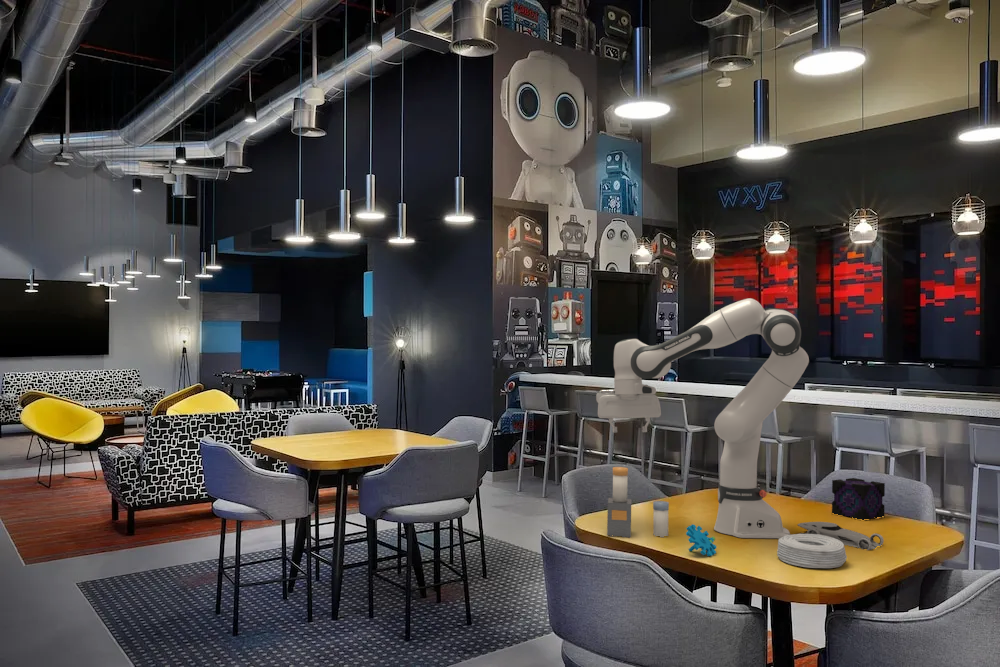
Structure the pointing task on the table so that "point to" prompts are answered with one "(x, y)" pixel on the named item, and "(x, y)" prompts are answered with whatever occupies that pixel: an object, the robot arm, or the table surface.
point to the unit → (619, 518)
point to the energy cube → (858, 498)
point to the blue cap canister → (660, 518)
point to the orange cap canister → (620, 484)
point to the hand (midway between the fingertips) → (629, 432)
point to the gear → (700, 540)
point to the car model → (842, 534)
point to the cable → (811, 551)
